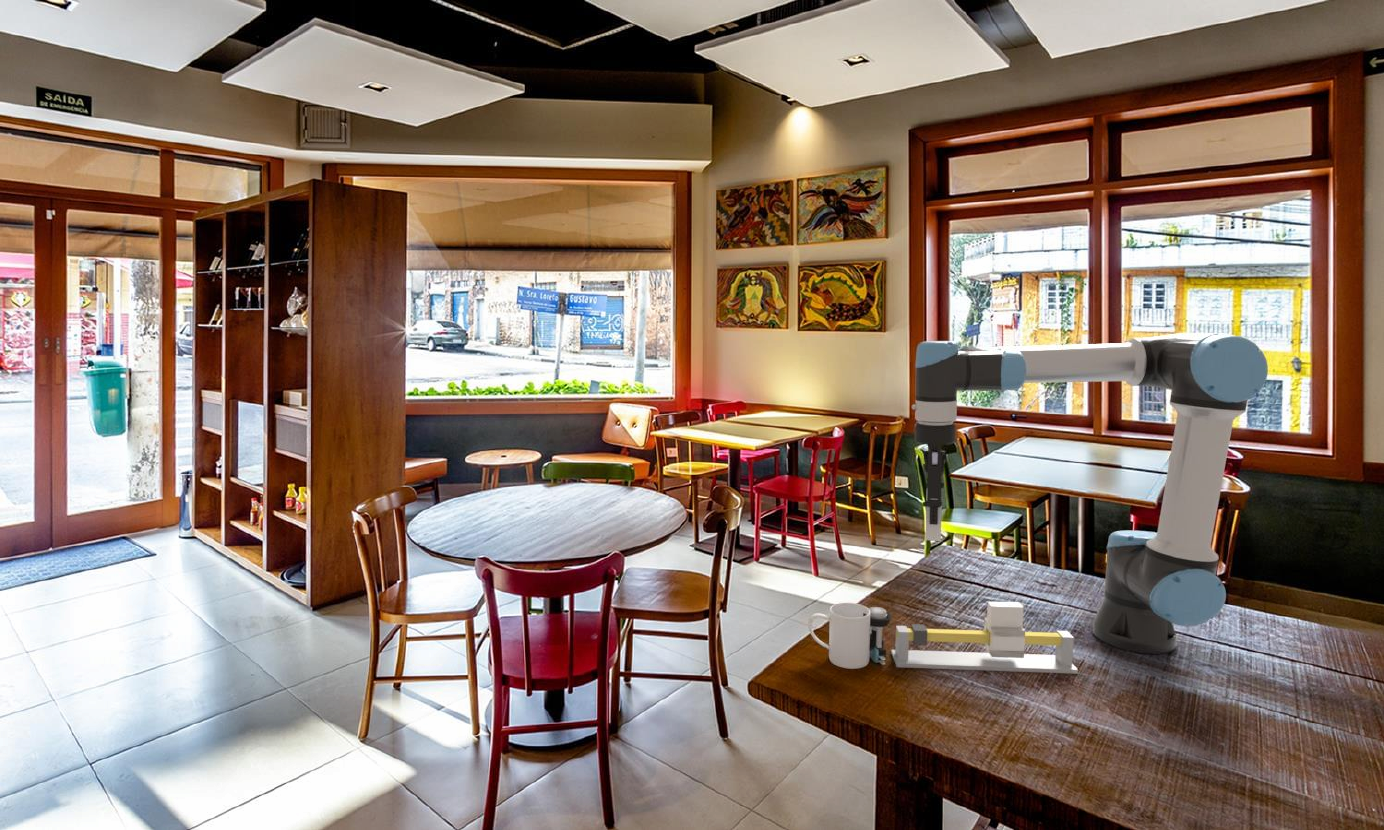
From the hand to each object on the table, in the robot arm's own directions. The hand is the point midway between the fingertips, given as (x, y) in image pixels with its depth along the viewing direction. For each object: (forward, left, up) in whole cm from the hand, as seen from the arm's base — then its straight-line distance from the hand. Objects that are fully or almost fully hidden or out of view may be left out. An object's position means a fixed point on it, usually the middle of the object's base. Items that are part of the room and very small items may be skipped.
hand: (933, 529), depth 144 cm
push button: (+10, +1, -27) cm, 29 cm away
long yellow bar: (-10, +1, -23) cm, 25 cm away
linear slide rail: (-10, +1, -27) cm, 29 cm away
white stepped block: (-14, +1, -24) cm, 28 cm away
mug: (+18, +2, -27) cm, 32 cm away
